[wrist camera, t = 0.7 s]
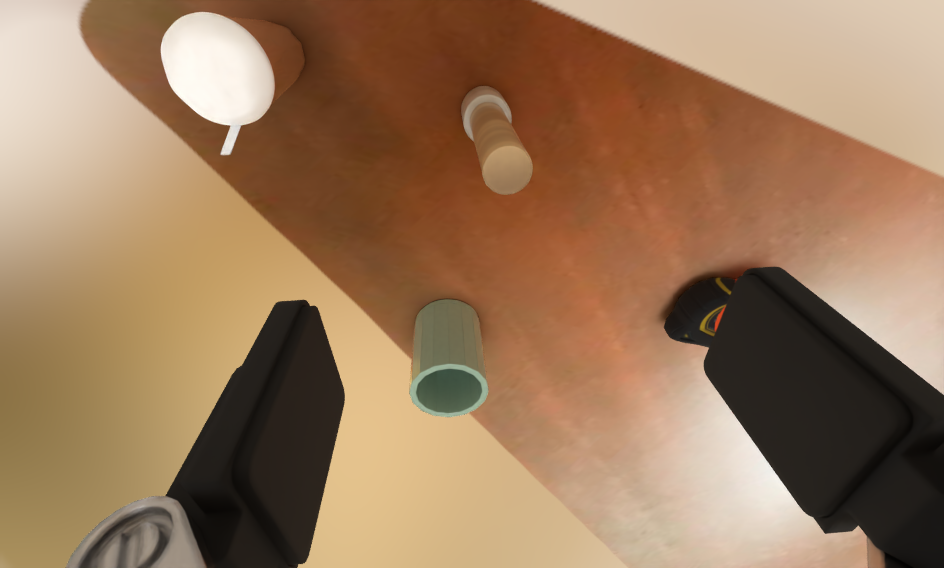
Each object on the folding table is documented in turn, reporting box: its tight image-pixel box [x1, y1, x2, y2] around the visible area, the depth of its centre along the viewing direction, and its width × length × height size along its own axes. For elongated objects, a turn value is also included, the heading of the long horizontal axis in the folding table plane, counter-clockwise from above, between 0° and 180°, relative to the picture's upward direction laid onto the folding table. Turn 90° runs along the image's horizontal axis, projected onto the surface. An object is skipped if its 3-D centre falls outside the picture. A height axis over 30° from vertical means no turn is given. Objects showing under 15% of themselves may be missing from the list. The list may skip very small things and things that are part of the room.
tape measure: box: [664, 278, 736, 347], centre depth 37 cm, size 7×7×4 cm
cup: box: [409, 299, 489, 417], centre depth 35 cm, size 6×6×8 cm
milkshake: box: [161, 12, 305, 155], centre depth 21 cm, size 5×5×10 cm
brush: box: [461, 86, 533, 195], centre depth 23 cm, size 3×3×12 cm
